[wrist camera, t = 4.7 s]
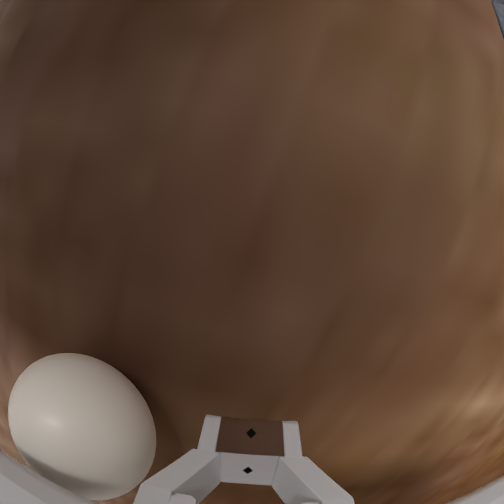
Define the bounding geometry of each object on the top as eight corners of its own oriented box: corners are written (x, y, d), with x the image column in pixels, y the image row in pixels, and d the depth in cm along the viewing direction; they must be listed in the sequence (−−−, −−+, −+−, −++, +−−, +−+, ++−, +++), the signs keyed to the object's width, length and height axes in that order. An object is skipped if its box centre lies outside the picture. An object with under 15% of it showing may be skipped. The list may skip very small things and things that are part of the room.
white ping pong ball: (42, 362, 10) (-28, 427, 4) (97, 300, 9) (-9, 382, 4) (125, 443, 11) (84, 525, 5) (201, 406, 10) (169, 528, 4)
